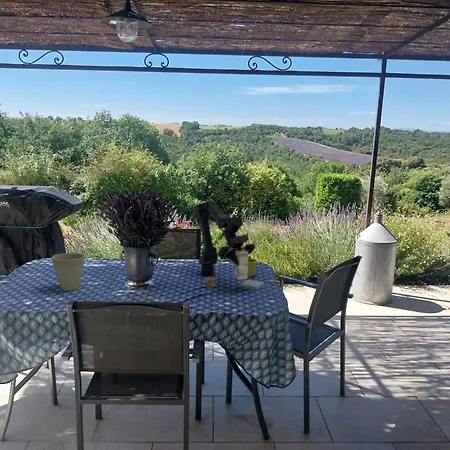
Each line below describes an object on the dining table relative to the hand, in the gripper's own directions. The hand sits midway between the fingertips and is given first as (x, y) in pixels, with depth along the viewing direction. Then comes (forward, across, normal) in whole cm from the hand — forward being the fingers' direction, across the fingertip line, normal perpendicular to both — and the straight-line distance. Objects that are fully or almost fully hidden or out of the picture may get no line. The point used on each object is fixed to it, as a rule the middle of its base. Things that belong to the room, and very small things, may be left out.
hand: (242, 265), depth 216 cm
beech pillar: (+4, 0, +6) cm, 7 cm away
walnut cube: (-1, -9, +20) cm, 22 cm away
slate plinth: (+5, +10, +14) cm, 18 cm away
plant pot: (-19, -72, +39) cm, 84 cm away
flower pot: (-6, +18, +26) cm, 32 cm away
